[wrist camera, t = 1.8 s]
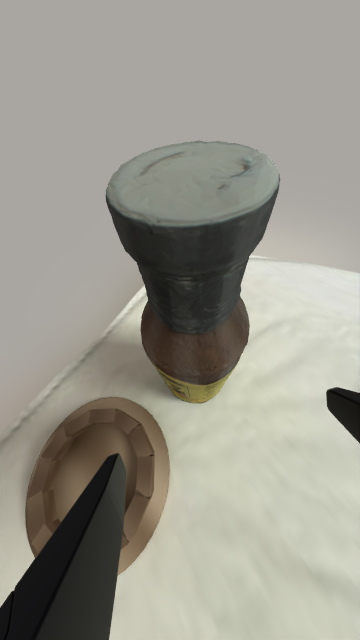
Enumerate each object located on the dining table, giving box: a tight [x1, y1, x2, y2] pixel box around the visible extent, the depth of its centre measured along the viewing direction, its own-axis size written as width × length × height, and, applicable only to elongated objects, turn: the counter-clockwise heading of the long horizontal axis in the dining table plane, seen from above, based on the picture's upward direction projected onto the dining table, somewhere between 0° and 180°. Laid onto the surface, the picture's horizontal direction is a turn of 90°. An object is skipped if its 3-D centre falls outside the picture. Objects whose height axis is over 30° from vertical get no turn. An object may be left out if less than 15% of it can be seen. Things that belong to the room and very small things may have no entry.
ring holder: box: [26, 398, 170, 576], centre depth 16 cm, size 13×13×2 cm
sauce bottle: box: [106, 141, 280, 403], centre depth 13 cm, size 6×6×20 cm
